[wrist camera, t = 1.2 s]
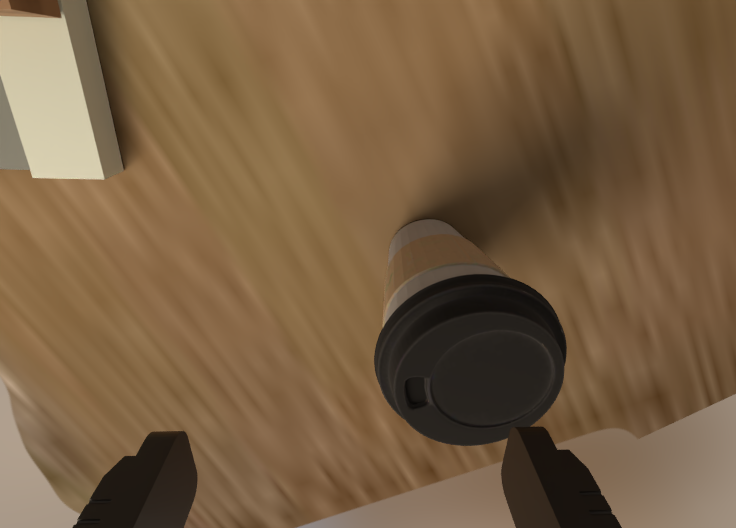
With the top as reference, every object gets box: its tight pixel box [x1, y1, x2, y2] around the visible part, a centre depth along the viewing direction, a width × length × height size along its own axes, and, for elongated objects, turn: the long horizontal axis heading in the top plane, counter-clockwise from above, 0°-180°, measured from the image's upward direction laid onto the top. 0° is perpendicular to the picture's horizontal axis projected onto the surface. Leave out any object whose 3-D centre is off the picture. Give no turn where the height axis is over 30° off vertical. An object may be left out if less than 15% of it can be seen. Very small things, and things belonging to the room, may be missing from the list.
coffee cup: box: [374, 219, 567, 446], centre depth 26 cm, size 9×9×15 cm
